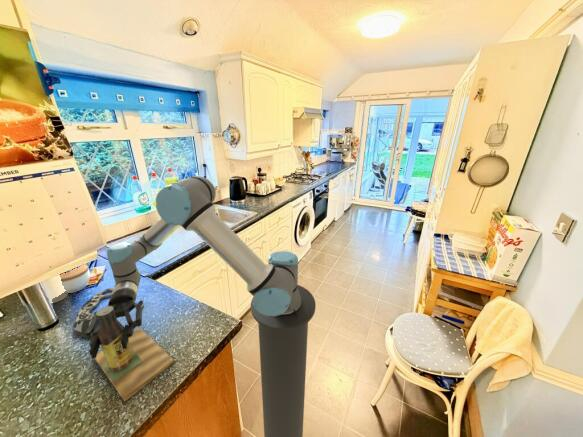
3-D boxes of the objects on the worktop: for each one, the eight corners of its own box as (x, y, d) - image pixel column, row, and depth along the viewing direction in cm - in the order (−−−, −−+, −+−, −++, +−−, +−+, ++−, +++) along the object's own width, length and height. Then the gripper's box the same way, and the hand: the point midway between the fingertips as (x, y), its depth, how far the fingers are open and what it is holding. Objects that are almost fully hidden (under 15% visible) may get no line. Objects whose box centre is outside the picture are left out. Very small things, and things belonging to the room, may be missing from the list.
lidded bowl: (78, 297, 102) (69, 275, 98) (49, 296, 102) (39, 275, 98) (100, 279, 114) (93, 260, 110) (74, 279, 114) (66, 259, 110)
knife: (91, 334, 83) (55, 340, 79) (92, 338, 83) (56, 344, 80) (119, 286, 108) (92, 289, 105) (119, 289, 108) (93, 292, 105)
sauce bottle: (125, 372, 69) (107, 320, 62) (104, 373, 69) (82, 321, 62) (138, 352, 75) (122, 303, 68) (118, 352, 75) (100, 303, 68)
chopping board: (173, 362, 75) (172, 358, 74) (124, 402, 64) (123, 397, 63) (140, 330, 86) (139, 326, 86) (94, 358, 75) (93, 355, 75)
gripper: (156, 298, 88) (151, 347, 69) (93, 313, 81) (67, 373, 61) (152, 281, 86) (146, 327, 66) (86, 296, 78) (57, 353, 58)
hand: (108, 349), depth 64 cm, fingers closed on sauce bottle, 6 cm apart
